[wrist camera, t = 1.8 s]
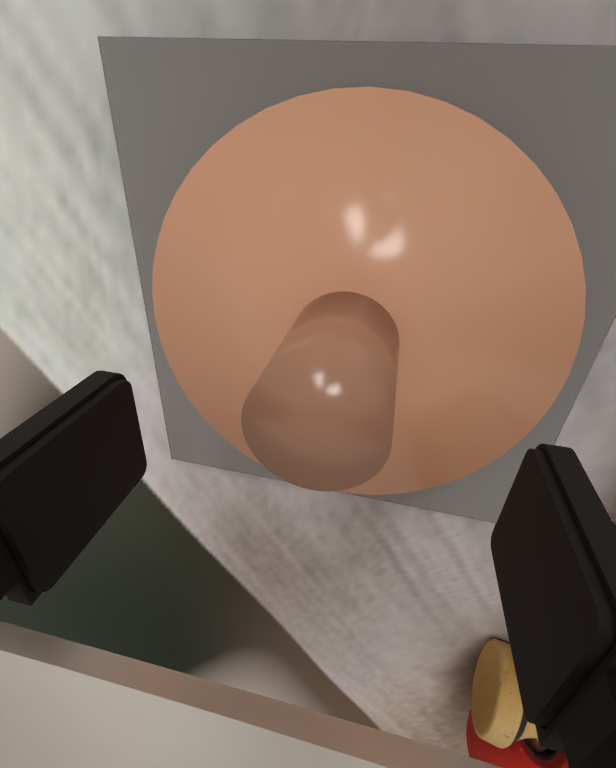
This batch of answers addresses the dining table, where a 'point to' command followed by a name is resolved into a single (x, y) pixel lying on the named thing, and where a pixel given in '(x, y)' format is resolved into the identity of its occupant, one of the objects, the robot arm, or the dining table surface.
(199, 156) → the mat
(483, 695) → the kendama
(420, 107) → the lid
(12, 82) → the dining table surface
